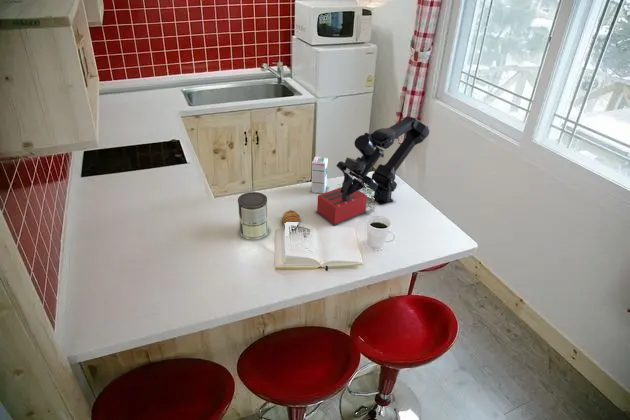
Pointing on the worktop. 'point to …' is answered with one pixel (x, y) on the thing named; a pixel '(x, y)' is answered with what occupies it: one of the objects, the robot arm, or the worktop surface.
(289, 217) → the pastry
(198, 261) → the worktop surface
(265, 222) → the coffee can
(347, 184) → the slider
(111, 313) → the worktop surface
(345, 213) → the toaster
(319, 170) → the syrup box
